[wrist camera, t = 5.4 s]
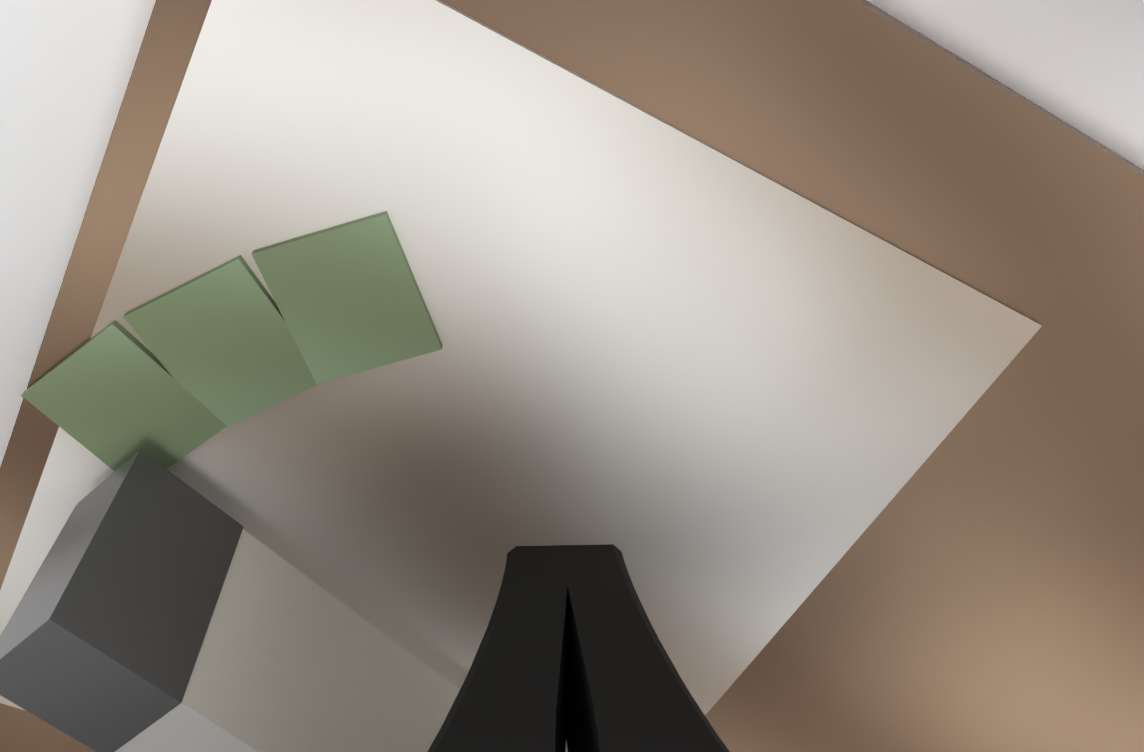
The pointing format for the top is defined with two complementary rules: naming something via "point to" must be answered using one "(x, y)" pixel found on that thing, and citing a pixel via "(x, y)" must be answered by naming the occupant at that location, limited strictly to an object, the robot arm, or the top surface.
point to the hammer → (202, 638)
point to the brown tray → (630, 348)
